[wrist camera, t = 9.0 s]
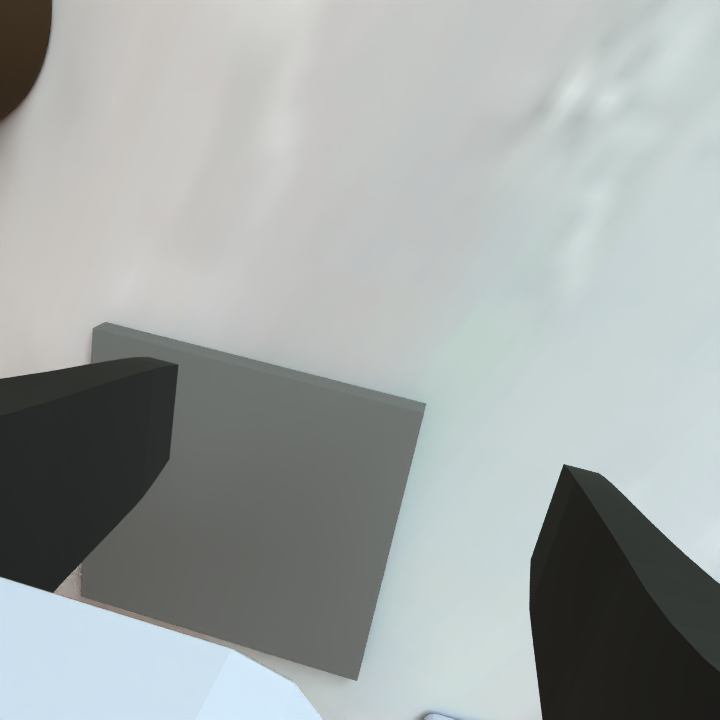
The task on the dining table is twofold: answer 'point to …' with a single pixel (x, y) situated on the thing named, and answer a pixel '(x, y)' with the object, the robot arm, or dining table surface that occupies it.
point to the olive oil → (21, 47)
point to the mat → (261, 506)
